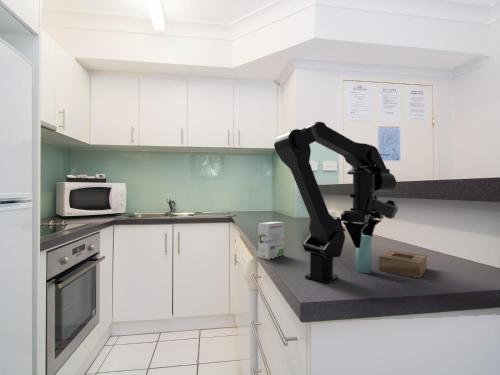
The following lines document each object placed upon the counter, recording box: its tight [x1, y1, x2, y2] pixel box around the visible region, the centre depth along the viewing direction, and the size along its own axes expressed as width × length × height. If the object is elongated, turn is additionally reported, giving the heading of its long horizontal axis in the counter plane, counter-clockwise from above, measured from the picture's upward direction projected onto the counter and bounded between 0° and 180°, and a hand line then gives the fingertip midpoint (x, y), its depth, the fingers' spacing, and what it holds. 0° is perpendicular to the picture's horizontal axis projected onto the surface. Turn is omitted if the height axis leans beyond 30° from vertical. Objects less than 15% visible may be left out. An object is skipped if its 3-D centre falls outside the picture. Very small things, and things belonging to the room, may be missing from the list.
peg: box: [355, 234, 372, 274], centre depth 72 cm, size 4×4×10 cm
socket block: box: [378, 249, 428, 278], centre depth 74 cm, size 12×10×4 cm
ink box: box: [257, 221, 285, 260], centre depth 88 cm, size 8×5×12 cm, turn 135°
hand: (363, 245), depth 72 cm, fingers open, 9 cm apart
